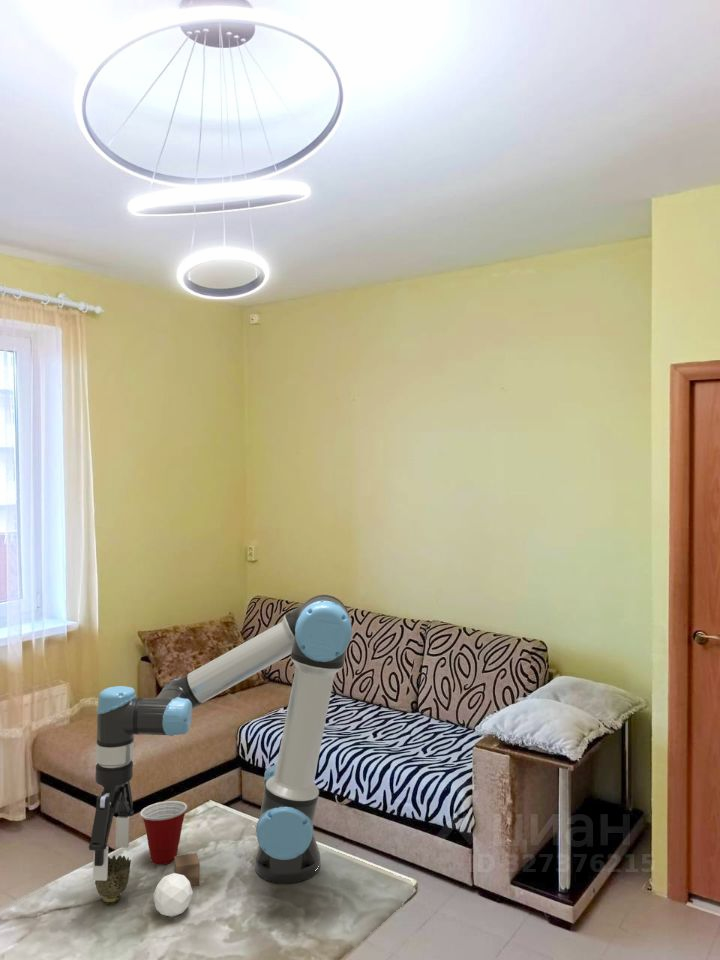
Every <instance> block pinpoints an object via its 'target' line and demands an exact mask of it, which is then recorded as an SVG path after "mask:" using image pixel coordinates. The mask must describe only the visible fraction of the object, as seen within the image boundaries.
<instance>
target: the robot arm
mask: <svg viewBox="0 0 720 960" xmlns="http://www.w3.org/2000/svg"><path fill="white" fill-rule="evenodd" d="M352 633H353V626H352V622H351V619H350V616H349V611H348V609H347V608H346V605H345V604H344V602H342V601H341V600H340V599H339V598H337V597H335V596H333V595H328V594H318V595H315V596H312V597H311V598H308V599H307V600H306V601H305V602H304V603H302V604H301V605H299V606H298V607H296V608H295V609H293V610H291V611H290V612H288V613H286V614H285V615H284V616H283V618H282V621H281V622H278V623H277V624H275V625H274V626H272V627H270V628H269V629H266V630H265V631H262V632H261V633H259V634H258V635H256V636H254V637H251V638H250V639H248V640H246V641H245V642H243V643H241V644H240V645H239V644H238V646H236V647H234V648H232V649H231V650H229V651H227V652H225V653H223V654H221V655H219V656H218V657H216V658H214V659H213V660H211V661H208V662H207V663H205V664H204V665H201V666H199V667H198V668H196V669H195V670H193V671H191V672H189V673H188V674H186V675H184V676H182V677H180V678H175V679H172V680H170V682H168V683H167V684H165V685H164V686H163V688H162V689H161V691H160V693H159V694H158V695H157V696H156V697H136V691H135V689H134V688H133V687H131V686H125V685H117V686H110V687H106V688H104V689H103V690H102V691H100V693H99V695H98V702H97V703H98V704H97V710H96V718H97V719H96V745H95V746H94V751H96V753H95V754H96V756H95V758H96V763H97V764H96V765H95V777H94V778H95V783H96V784H97V785H99V786H102V788H103V789H102V790H103V791H101V795H100V796H97V797H96V802H95V804H96V805H95V806H96V807H95V813H94V818H93V825H92V830H91V837H90V841H89V842H90V843H89V845H88V850H89V851H93V858H92V859H93V861H92V863H93V864H92V866H93V867H92V881H95V880H102V881H106V880H107V874H108V857H109V846H107V845H108V842H109V837H110V831H111V827H112V824H113V820H114V816H115V815H116V814H117V815H118V816H117V817H116V818H115V847H114V848H129V845H130V844H129V843H130V817H131V816H134V813H135V809H133V807H134V802H133V795H132V789H131V788H132V787H131V782H130V781H131V780H132V779H133V776H134V775H133V772H134V771H133V769H134V768H133V767H134V762H133V759H134V747H135V746H134V744H135V743H134V742H135V741H134V740H135V739H134V737H135V736H134V735H136V736H137V735H138V736H140V735H145V736H146V735H147V736H148V735H149V736H170V737H173V736H180V735H181V736H183V735H186V734H188V732H189V731H190V730H191V725H192V718H193V709H195V708H197V707H198V706H200V705H202V704H203V703H205V702H207V701H209V700H210V699H212V698H214V697H216V696H217V695H219V694H221V693H223V692H224V691H226V690H228V689H230V688H232V687H234V686H236V685H238V684H239V683H241V682H243V681H245V680H247V679H248V678H250V677H252V676H254V675H255V674H257V673H259V672H261V671H262V670H265V669H266V668H268V667H269V666H270V667H271V666H272V665H274V664H275V663H277V662H279V661H281V660H282V659H285V658H286V657H288V656H289V655H290V660H291V661H292V662H293V663H292V664H294V666H295V669H294V675H293V680H292V684H291V689H290V695H289V700H288V706H287V711H286V716H285V721H284V726H283V731H282V736H281V741H280V747H279V752H278V756H277V757H278V758H277V763H276V764H274V765H271V766H269V767H267V768H266V769H265V770H264V771H265V772H264V778H263V780H262V781H263V785H264V786H263V797H262V801H261V806H260V807H261V808H260V813H259V817H258V820H257V822H256V826H255V830H256V831H255V833H256V838H257V839H256V840H257V843H258V845H259V846H258V849H257V852H256V855H255V862H254V863H255V865H254V866H255V867H254V869H255V873H256V874H257V875H258V876H259V877H261V878H262V879H263V880H266V881H269V882H272V883H277V884H293V883H299V882H303V881H306V880H309V879H310V878H312V877H313V876H315V875H316V874H317V873H318V872H319V871H320V868H321V854H320V851H319V847H318V843H317V841H316V836H315V833H314V821H315V815H316V810H317V804H318V799H319V795H320V789H319V788H318V787H317V784H315V781H316V778H315V777H316V773H317V768H318V762H319V756H320V751H321V746H322V742H323V737H324V736H323V735H324V732H325V731H324V730H325V728H326V720H327V716H328V710H329V705H330V700H331V695H332V689H333V685H334V680H335V675H336V674H337V673H338V672H340V671H342V669H343V668H344V666H345V665H344V664H345V659H346V654H347V649H348V647H349V644H350V643H351V639H352ZM319 864H320V865H319ZM318 866H319V867H318ZM317 868H318V869H317ZM316 869H317V870H316ZM315 870H316V871H315Z"/></svg>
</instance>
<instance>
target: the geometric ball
mask: <svg viewBox="0 0 720 960" xmlns="http://www.w3.org/2000/svg"><path fill="white" fill-rule="evenodd" d="M192 888H193V887H191V885H190V881H189V880H188V879H187V878H186V877H185V876H184V875H181V874H176V873H174V872H173V873H170V874H168V875H164V876H162V879H160V881H159V882H158V884H157V885H156V887H155V890H154V891H153V895H152V898H153V902H154V907H155V909H156V910H157V911H158V913H160V915H162V916H166V917H171V918H174V917H176V916H178V915H180V914H183V913H184V912H185V911H186V909H187V908H188V907H189V906H190V902H191V899H192V897H193V893H194V892H193V889H192Z"/></svg>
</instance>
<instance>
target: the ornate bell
mask: <svg viewBox="0 0 720 960" xmlns="http://www.w3.org/2000/svg"><path fill="white" fill-rule="evenodd" d="M131 863H132V860H131V859H130V858H129V857H127V858H126V856H125V855H122V854H121V855H118V856H117V858H116V855H113V856H112V857H110V856H108V874H107V880H106V881H102V880H94V882H95V888H96V891H97V893H98V895H99V896H101V897H102V901H103V903H104V904H105V905H108V906H109V905H114V904H117V903H118V902H119V901H121V897H122V894H123V893H124V892H125V890H126V888H127V886H128V882H129V878H130V872H131V871H130V869H131Z"/></svg>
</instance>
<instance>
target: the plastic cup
mask: <svg viewBox="0 0 720 960" xmlns="http://www.w3.org/2000/svg"><path fill="white" fill-rule="evenodd" d="M187 809H188V805H187V804H186V803H185V802H183V801H178V800H169V801H168V800H165V801H159V802H156V803H153V804H150V805H147V806H146V807H144V808H142V809H141V811H140V816H141V818H142V819H143V823H144V828H145V831H146V832H145V833H146V838H147V839H146V840H147V845H148V850H149V856H150V860H151V861H150V862H151V863H153V864H154V865H158V866H163V865H169V864H171V863H174V856H178V850H179V849H178V848H179V844H180V842H181V834H182V829H183V823H184V819H185V813H186V812H187Z"/></svg>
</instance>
